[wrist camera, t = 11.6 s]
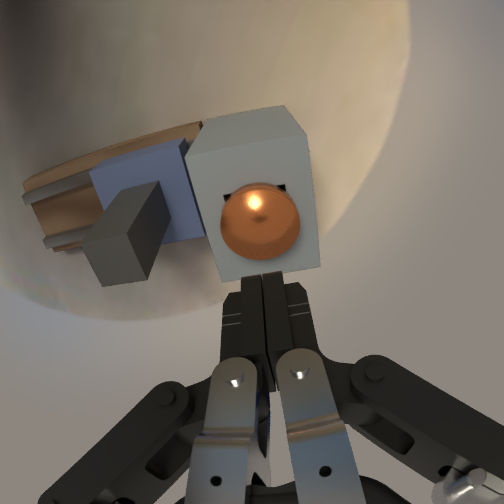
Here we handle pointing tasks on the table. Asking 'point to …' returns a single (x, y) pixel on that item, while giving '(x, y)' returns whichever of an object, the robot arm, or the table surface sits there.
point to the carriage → (141, 211)
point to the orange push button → (259, 221)
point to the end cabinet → (254, 171)
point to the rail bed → (83, 189)
